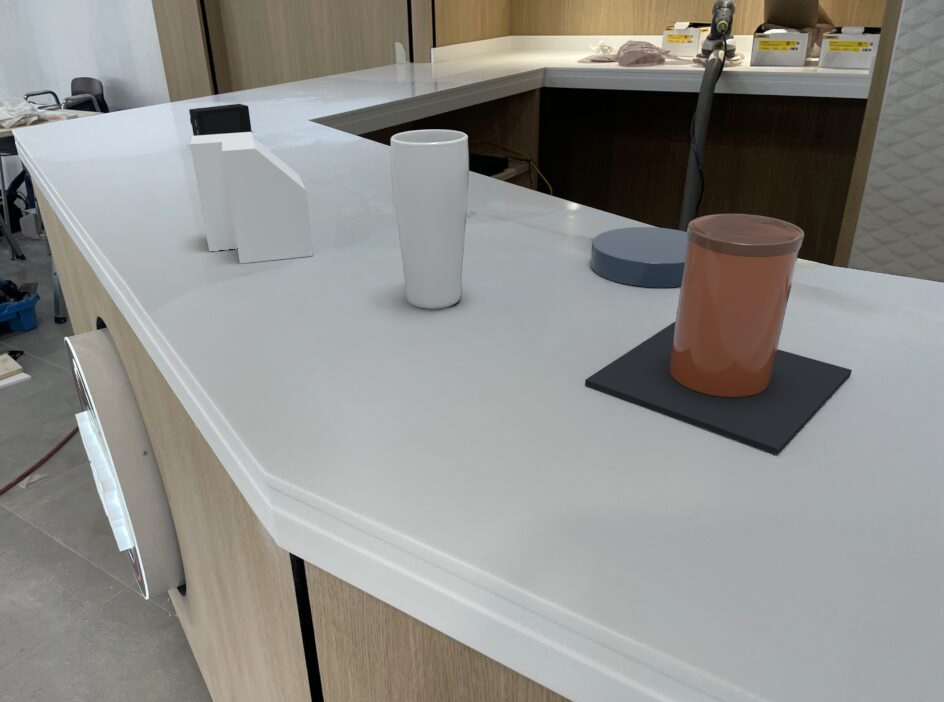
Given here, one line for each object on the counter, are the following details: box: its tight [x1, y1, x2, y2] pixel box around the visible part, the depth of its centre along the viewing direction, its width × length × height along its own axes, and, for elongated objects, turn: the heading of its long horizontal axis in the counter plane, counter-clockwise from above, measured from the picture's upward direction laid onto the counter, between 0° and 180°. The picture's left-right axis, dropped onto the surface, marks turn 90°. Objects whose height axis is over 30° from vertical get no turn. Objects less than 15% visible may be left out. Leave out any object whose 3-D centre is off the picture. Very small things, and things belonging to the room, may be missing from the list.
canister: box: [669, 213, 805, 397], centre depth 51 cm, size 7×7×11 cm
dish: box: [590, 226, 688, 289], centre depth 75 cm, size 12×12×2 cm
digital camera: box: [188, 103, 253, 136], centre depth 142 cm, size 10×5×7 cm, turn 126°
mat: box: [584, 320, 852, 456], centre depth 54 cm, size 14×14×1 cm
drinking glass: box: [390, 129, 470, 310], centre depth 66 cm, size 7×7×15 cm
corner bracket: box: [189, 131, 314, 264], centre depth 82 cm, size 11×11×12 cm
